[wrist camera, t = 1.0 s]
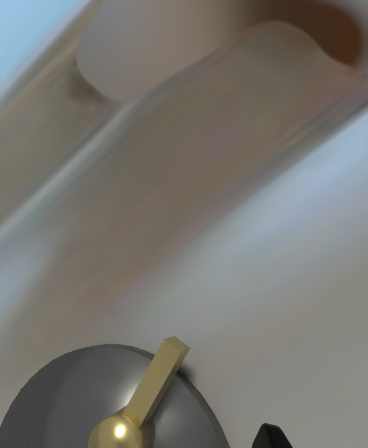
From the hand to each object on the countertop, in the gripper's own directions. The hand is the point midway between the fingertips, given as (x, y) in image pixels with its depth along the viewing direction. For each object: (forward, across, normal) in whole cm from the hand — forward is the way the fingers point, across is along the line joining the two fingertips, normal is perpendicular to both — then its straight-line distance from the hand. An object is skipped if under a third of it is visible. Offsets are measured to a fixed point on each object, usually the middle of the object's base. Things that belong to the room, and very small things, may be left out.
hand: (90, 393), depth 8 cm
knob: (+10, -2, +12) cm, 16 cm away
